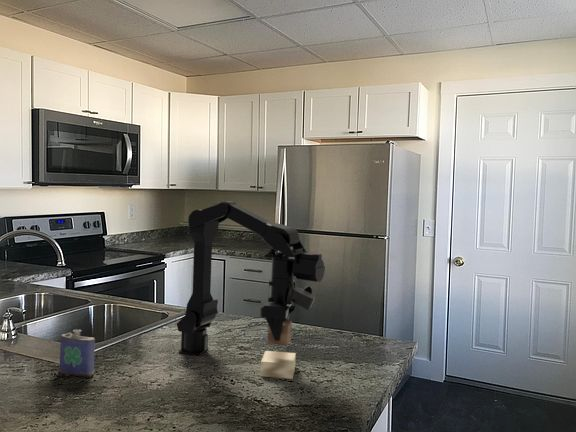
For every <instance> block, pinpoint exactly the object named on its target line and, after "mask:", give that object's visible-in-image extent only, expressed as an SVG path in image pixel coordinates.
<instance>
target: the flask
mask: <svg viewBox="0 0 576 432" xmlns="http://www.w3.org/2000/svg"><path fill="white" fill-rule="evenodd" d="M72 332H73V333H72ZM72 332H68V333H63V334H61V335H60V346H59V349H60V351H59V352H60V353H59V370H58V371H59V373H61V374H64V375H67V376H69V375H70V376H76V377H87V378H90V377H93V376H94V375H95V347H96V346H95V344H96V338H95V337H92V336H90V337H89V336H83V335H82V336H81V332H82V330H81V329H73V330H72Z"/></svg>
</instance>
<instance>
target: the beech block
mask: <svg viewBox="0 0 576 432" xmlns="http://www.w3.org/2000/svg"><path fill="white" fill-rule="evenodd" d="M296 355H297V353H296V352H285V351H274V350H273V351H272V350H265V351H264V353H263V356H262V358H261V360H260V373H259V374H260V375H259V376H260V377H267V378H277V379H278V378H279V379H289V380H290V379H292V380H293V377H294V374H295V369H296V357H297V356H296Z"/></svg>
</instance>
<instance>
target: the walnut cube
mask: <svg viewBox="0 0 576 432" xmlns="http://www.w3.org/2000/svg"><path fill="white" fill-rule="evenodd" d="M292 325H293V320H289V319H288V320H285V321H284V322H283V327H282V331H281V336H280V340H279V341H275V339H274V337H273V334H272V332H271V329H270V327H269V325H268V329H267V344H270V345H278V346H286V347H288V345H289V343H290V342H292V341H291V340H292V329H293V326H292Z"/></svg>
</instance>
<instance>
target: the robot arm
mask: <svg viewBox="0 0 576 432" xmlns="http://www.w3.org/2000/svg"><path fill="white" fill-rule="evenodd" d="M228 219H229V220H231V221H233V222H235V223H236V224H238V225H239V226H240V227H241V226H242V227H244V228H245V229H248V230H249V231H250V232H253V233H254V234H257V235H258V236H260V238H262V240H263V241H264V242H265V243H266V244H267V245H268V246H269V247H271V249H269V251H268V252H267V253H265V254H264V258H266V259H271V274H270V275H271V276H270V280H269V282H268V286H270V294H269V295H270V296H269V297H267V298H268V299H267V303H266V304H264V305H263V306H262V307H261V308H260V314H259V315H260V316H259V317H260V318H264V319H265V320H266V323H267V324H268V325H269V327H270V329H271V332H272V334H273V337H274V339H275V341H279V340H280V336H281V331H282V327H283V322H284V321H285V320H289V318H290V315H291V313H292V312H294V311H295V309H297V306H300V307H302V308H303V309H304V310H307V311H309V310H310V309H311V308H312V307H313V304H314V302H315V299H316V296H317V295H316V293H314V287H312V286H310V285H307V286H305V288H303V287H298V286H297V281H296V280H295V278H296V279H297V280H302V281H307V282H316V283H320V282H322V280H323V278H324V275H325V268H326V267H325V263H324V261H323V257H322V256H323V255H322V254H321V253H308V252H307V250H306V249H305V248H306V247H304V245H303V243H302V242H301V240H300V236H299V235H300V234H299V232H298V229H296V228H295V227H292V226H289V225H285V224H283V223H277V222H272V221H270V220H268V219H266V218H264V217H262V216H260V215H258V214H257V213H254V212H253V211H250V209H249V210H248V209H247V208H245V207H242V206H241V205H238V204H237V203H236V202H235V201H233V200H231V201H230V200H229V201H228V200H227V201H225V200H224V201H221V202H220V203H218V204H214V205H213V206H208V207H206V208H203V209H195V210H193V211H192V212H191V213H190V214H188V218H187V223H188V231H189V234H190V236H191V239H192V240H193V265H192V293H191V295H190V298H189V300H188V302H187V304H186V308H185V314H184V316H183V317H182V318H181V319H180V320H178V322H177V323H176V327H177V331H178V332H180V333H181V334H180V335H181V339H180V349H179V350H178V353H179V354H185V355H192V356H193V355H195V356H201V355H202V354H203V353H204V352H206V351H207V350H208V349H209V334H207V330H208V329H207V328H210V327H211V325H212V322H213V321H214V320H216V316H217V314H219V312H218V303H219V301H218V299H214V298H213V296H212V293H211V286H212V285H211V283H212V280H211V279H212V258H213V257H212V255H213V254H212V253H213V252H212V251H213V241H214V239H215V237H216V235H217V233H218V228H219V225H220V223H222V222H225V221H226V220H228ZM293 303H294V305H293ZM296 305H297V306H296Z"/></svg>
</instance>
